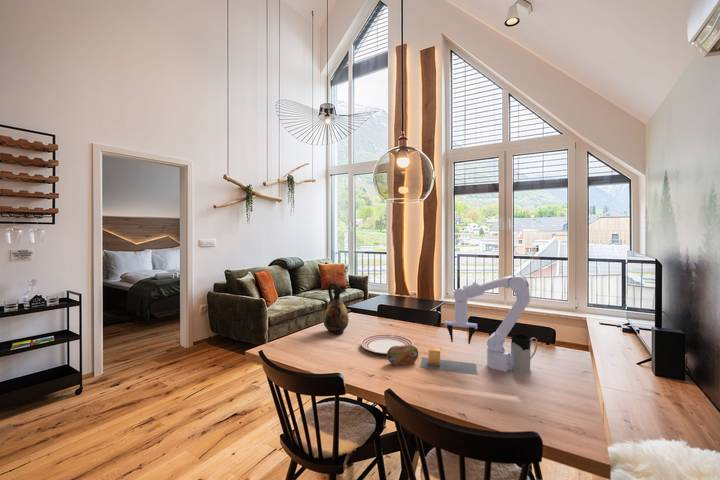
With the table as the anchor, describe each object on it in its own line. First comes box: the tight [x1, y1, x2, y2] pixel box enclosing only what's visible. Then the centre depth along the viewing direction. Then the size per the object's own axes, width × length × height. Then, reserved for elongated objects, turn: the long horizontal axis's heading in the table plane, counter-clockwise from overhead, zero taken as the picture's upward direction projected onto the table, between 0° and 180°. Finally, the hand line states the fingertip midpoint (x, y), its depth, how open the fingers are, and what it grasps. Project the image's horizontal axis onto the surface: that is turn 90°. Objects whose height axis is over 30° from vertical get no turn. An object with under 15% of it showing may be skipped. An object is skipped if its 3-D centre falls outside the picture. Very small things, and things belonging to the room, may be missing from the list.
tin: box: [386, 345, 419, 366], centre depth 150 cm, size 15×3×8 cm, turn 105°
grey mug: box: [510, 333, 538, 375], centre depth 144 cm, size 9×14×15 cm, turn 111°
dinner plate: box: [360, 333, 414, 355], centre depth 170 cm, size 27×27×3 cm
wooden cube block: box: [427, 346, 442, 366], centre depth 146 cm, size 5×5×7 cm
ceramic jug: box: [322, 282, 350, 336], centre depth 195 cm, size 17×15×30 cm
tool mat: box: [419, 357, 478, 376], centre depth 144 cm, size 24×12×6 cm, turn 74°
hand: (460, 342), depth 152 cm, fingers open, 7 cm apart
